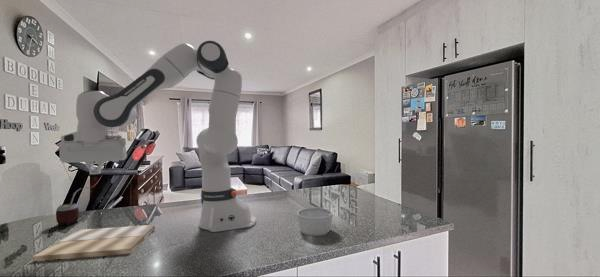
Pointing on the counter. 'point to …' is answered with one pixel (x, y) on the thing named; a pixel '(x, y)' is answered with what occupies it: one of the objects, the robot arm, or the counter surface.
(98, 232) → the whitewashed plank
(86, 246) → the laid oak row
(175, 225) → the counter surface
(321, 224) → the ramekin
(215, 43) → the robot arm
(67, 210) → the mate gourd
